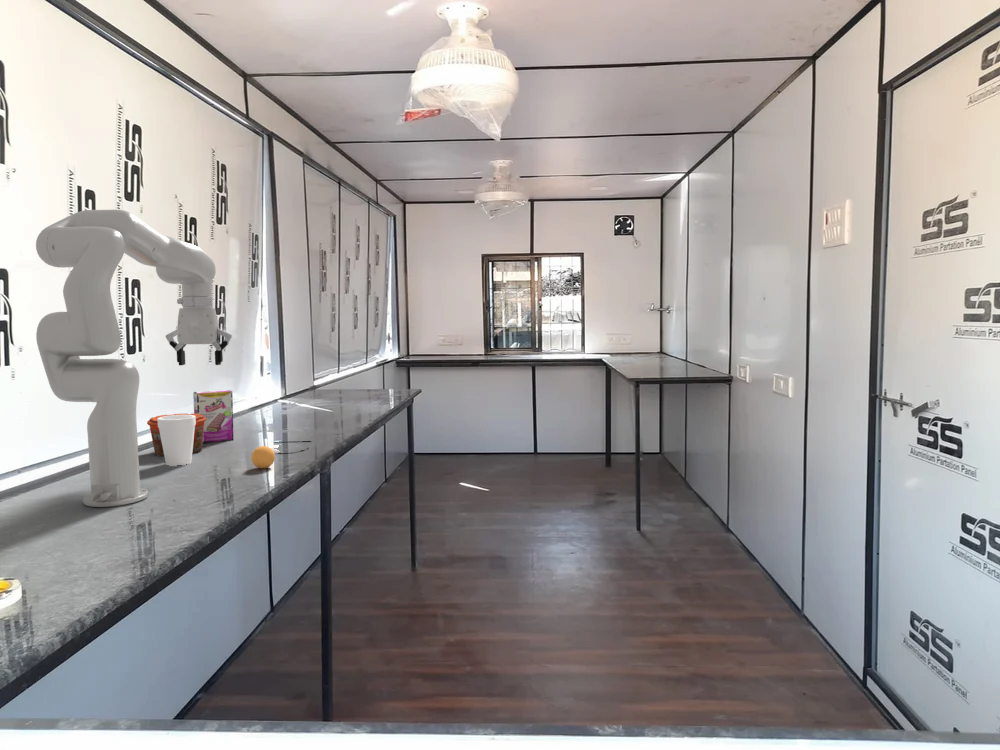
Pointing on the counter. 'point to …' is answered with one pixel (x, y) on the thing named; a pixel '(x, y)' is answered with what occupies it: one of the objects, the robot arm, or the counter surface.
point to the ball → (263, 457)
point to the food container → (197, 433)
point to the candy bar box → (215, 414)
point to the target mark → (275, 449)
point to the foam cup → (177, 438)
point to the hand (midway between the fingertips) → (200, 364)
